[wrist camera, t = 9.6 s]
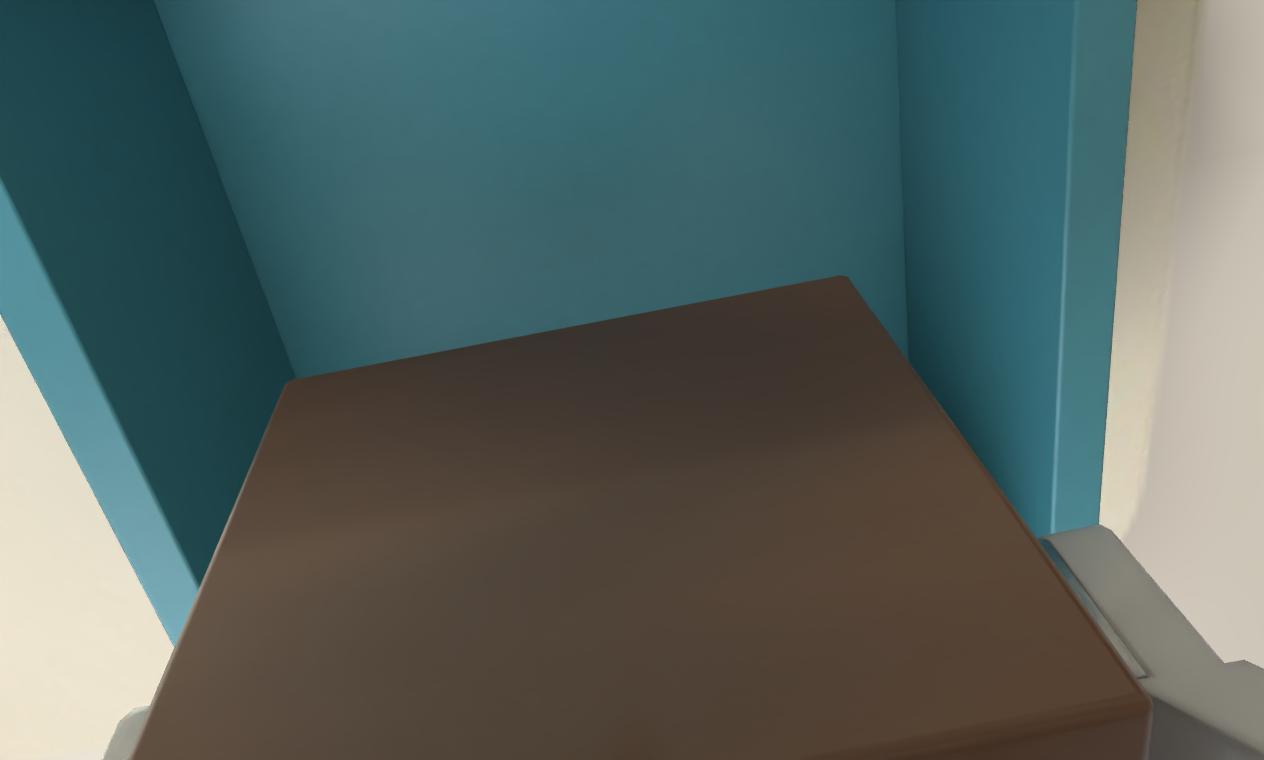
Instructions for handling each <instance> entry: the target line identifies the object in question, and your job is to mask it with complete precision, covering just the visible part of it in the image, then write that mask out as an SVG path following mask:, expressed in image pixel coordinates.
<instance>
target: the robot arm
mask: <svg viewBox="0 0 1264 760" xmlns="http://www.w3.org/2000/svg"><path fill="white" fill-rule="evenodd" d="M1037 540H1038V541H1039V543H1040V544H1041V545H1042V547H1043V548H1044V549H1045V551H1046V552H1047V554H1048V555H1049V556H1050V558H1051V559H1052V561H1053V562H1054V563H1055V565H1056V566H1057V567H1058V569H1059V570H1060V572H1061V573H1062V574H1063V576H1064V577H1065V579H1066V580H1067V581H1068V583H1069V584H1070V586H1071V587H1072V588H1073V590H1074V591H1075V592H1076V594H1077V595H1078V597H1079V598H1080V599H1081V601H1082V602H1083V604H1084V605H1085V606H1086V608H1087V609H1088V610H1089V612H1090V613H1091V615H1092V616H1093V617H1094V619H1095V620H1096V622H1097V623H1098V624H1099V626H1100V627H1101V629H1102V630H1103V631H1104V633H1105V634H1106V635H1107V637H1108V638H1109V640H1110V641H1111V642H1112V644H1113V645H1114V647H1115V648H1116V649H1117V651H1118V652H1119V654H1120V655H1121V656H1122V658H1123V659H1124V660H1125V662H1126V663H1127V665H1128V666H1129V667H1130V669H1131V670H1132V672H1133V673H1134V674H1135V676H1136V677H1137V678H1138V680H1139V681H1140V683H1141V684H1142V685H1143V687H1144V688H1145V690H1146V691H1147V692H1148V694H1149V696H1150V698H1151V700H1152V703H1153V709H1154V714H1153V722H1152V730H1151V738H1150V746H1149V754H1148V760H1264V669H1263V668H1261V667H1259V666H1256V665H1254V664H1252V663H1250V662H1248V661H1245V660H1241V661H1236V662H1229V663H1224V662H1223V661H1222V660H1221V659H1220V657H1219V656H1218V655H1217V654H1216V653H1215V652H1214V650H1213V649H1212V648H1211V647H1210V646H1209V645H1208V644H1207V642H1206V641H1205V640H1204V639H1203V637H1202V636H1201V635H1200V634H1199V633H1198V632H1197V630H1196V629H1195V628H1194V627H1193V626H1192V625H1191V623H1190V622H1189V621H1188V620H1187V619H1186V617H1185V616H1184V615H1183V614H1182V613H1181V612H1180V610H1179V609H1178V608H1177V607H1176V606H1175V605H1174V603H1173V602H1172V601H1171V600H1170V599H1169V598H1168V596H1167V595H1166V594H1165V593H1164V592H1163V590H1162V589H1161V588H1160V587H1159V586H1158V585H1157V583H1156V582H1155V581H1154V580H1153V579H1152V577H1150V575H1149V574H1148V573H1147V572H1146V570H1145V569H1144V568H1143V567H1142V566H1141V564H1140V563H1139V562H1138V561H1137V560H1136V559H1135V558H1134V556H1133V555H1132V554H1131V553H1130V551H1129V550H1128V549H1127V548H1126V547H1125V546H1124V544H1123V543H1122V542H1121V541H1120V540H1119V539H1118V537H1117V536H1116V535H1115V534H1114V533H1113V531H1112V530H1110V529H1108V528H1106V527H1104V526H1102V525H1100V524H1096V525H1091V526H1087V527H1082V528H1077V529H1072V530H1067V531H1063V532H1058V533H1053V534H1048V535H1044V536H1039V537H1038V538H1037ZM149 707H150V706H147V707H141V708H135V709H133V710H132V711H131V712H130V713H129V714H127V715H126V716H125V717H124V718H123V719H122V720H120V722H119V723H118V725H117V727H116V729H115V731H114V734H113V736H112V738H111V740H110V742H109V745H108V747H107V749H106V751H105V753H104V756H103V758H102V760H128V757H129V755H130V753H131V750H132V748H133V745H134V743H135V741H136V738H137V736H138V733H139V731H140V729H141V726H142V724H143V722H144V719H145V717H146V714H147V712H148V710H149Z"/></svg>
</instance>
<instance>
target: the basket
mask: <svg viewBox="0 0 1264 760" xmlns="http://www.w3.org/2000/svg"><path fill="white" fill-rule="evenodd" d="M1136 10H1137V0H0V315H1V316H2V318H3V320H4V322H5V324H6V326H7V328H8V330H9V332H10V334H11V336H12V338H13V339H14V341H15V343H16V345H17V347H18V349H19V351H20V353H21V355H22V357H23V359H24V361H25V362H26V364H27V366H28V368H29V370H30V372H31V374H32V376H33V378H34V380H35V382H36V383H37V385H38V387H39V389H40V391H41V393H42V395H43V397H44V399H45V401H46V403H47V405H48V406H49V408H50V410H51V412H52V414H53V416H54V418H55V420H56V422H57V424H58V426H59V428H60V429H61V431H62V433H63V435H64V437H65V439H66V441H67V443H68V445H69V447H70V449H71V450H72V452H73V454H74V456H75V458H76V460H77V462H78V464H79V466H80V468H81V470H82V472H83V473H84V475H85V477H86V479H87V481H88V483H89V485H90V487H91V489H92V491H93V493H94V495H95V496H96V498H97V500H98V502H99V504H100V506H101V508H102V510H103V512H104V514H105V516H106V518H107V519H108V521H109V523H110V525H111V527H112V529H113V531H114V533H115V535H116V537H117V539H118V540H119V542H120V544H121V546H122V548H123V550H124V552H125V554H126V556H127V558H128V560H129V562H130V563H131V565H132V567H133V569H134V571H135V573H136V575H137V577H138V579H139V581H140V583H141V585H142V586H143V588H144V590H145V592H146V594H147V596H148V598H149V600H150V602H151V604H152V606H153V608H154V609H155V611H156V613H157V615H158V617H159V619H160V621H161V623H162V625H163V627H164V629H165V630H166V632H167V634H168V636H169V638H170V640H171V642H172V644H173V646H174V648H175V645H176V643H177V640H178V638H179V636H180V633H181V631H182V628H183V626H184V624H185V621H186V619H187V617H188V614H189V612H190V609H191V607H192V605H193V602H194V600H195V597H196V595H197V593H198V590H199V588H200V586H201V583H202V581H203V578H204V576H205V574H206V571H207V569H208V566H209V564H210V562H211V559H212V557H213V555H214V552H215V550H216V547H217V545H218V543H219V540H220V538H221V535H222V533H223V531H224V528H225V526H226V523H227V521H228V519H229V516H230V514H231V512H232V509H233V507H234V504H235V502H236V500H237V497H238V495H239V492H240V490H241V488H242V485H243V483H244V481H245V478H246V476H247V473H248V471H249V469H250V466H251V464H252V461H253V459H254V457H255V454H256V452H257V449H258V447H259V445H260V442H261V440H262V438H263V435H264V433H265V430H266V428H267V426H268V423H269V421H270V418H271V416H272V414H273V411H274V409H275V407H276V404H277V402H278V399H279V397H280V395H281V392H282V390H283V387H284V385H285V384H286V383H287V382H289V381H290V380H293V379H299V378H304V377H309V376H314V375H320V374H325V373H330V372H335V371H341V370H346V369H351V368H356V367H362V366H367V365H372V364H377V363H383V362H388V361H393V360H398V359H404V358H409V357H414V356H419V355H425V354H430V353H435V352H440V351H446V350H451V349H456V348H461V347H467V346H472V345H477V344H482V343H487V342H493V341H498V340H503V339H508V338H514V337H519V336H524V335H529V334H535V333H540V332H545V331H550V330H556V329H561V328H566V327H571V326H577V325H582V324H587V323H592V322H598V321H603V320H608V319H613V318H619V317H624V316H629V315H634V314H640V313H645V312H650V311H655V310H661V309H666V308H671V307H676V306H682V305H687V304H692V303H697V302H703V301H708V300H713V299H718V298H724V297H729V296H734V295H739V294H745V293H750V292H755V291H760V290H766V289H771V288H776V287H781V286H787V285H792V284H797V283H802V282H808V281H813V280H818V279H823V278H829V277H834V276H839V275H842V276H847V277H848V278H849V279H850V280H851V282H852V283H853V284H854V286H855V287H856V289H857V290H858V291H859V293H860V294H861V296H862V297H863V298H864V300H865V301H866V302H867V304H868V305H869V307H870V308H871V309H872V311H873V312H874V314H875V315H876V316H877V318H878V319H879V321H880V322H881V323H882V325H883V326H884V327H885V329H886V330H887V332H888V333H889V334H890V336H891V337H892V339H893V340H894V341H895V343H896V344H897V345H898V347H899V348H900V350H901V351H902V352H903V354H904V355H905V357H906V358H907V359H908V361H909V362H910V364H911V365H912V366H913V368H914V369H915V370H916V372H917V373H918V375H919V376H920V377H921V379H922V380H923V382H924V383H925V384H926V386H927V387H928V389H929V390H930V391H931V393H932V394H933V395H934V397H935V398H936V400H937V401H938V402H939V404H940V405H941V407H942V408H943V409H944V411H945V412H946V413H947V415H948V416H949V418H950V419H951V420H952V422H953V423H954V425H955V426H956V427H957V429H958V430H959V432H960V433H961V434H962V436H963V437H964V438H965V440H966V441H967V443H968V444H969V445H970V447H971V448H972V450H973V451H974V452H975V454H976V455H977V456H978V458H979V459H980V461H981V462H982V463H983V465H984V466H985V468H986V469H987V470H988V472H989V473H990V475H991V476H992V477H993V479H994V480H995V481H996V483H997V484H998V486H999V487H1000V488H1001V490H1002V491H1003V493H1004V494H1005V495H1006V497H1007V498H1008V500H1009V501H1010V502H1011V504H1012V505H1013V506H1014V508H1015V509H1016V511H1017V512H1018V513H1019V515H1020V516H1021V518H1022V519H1023V520H1024V522H1025V523H1026V524H1027V526H1028V527H1029V529H1030V530H1031V531H1032V533H1033V534H1034V536H1035V537H1036V538H1038V537H1039V536H1044V535H1048V534H1053V533H1058V532H1063V531H1067V530H1072V529H1077V528H1082V527H1087V526H1091V525H1096V524H1099V512H1100V499H1101V485H1102V472H1103V458H1104V445H1105V431H1106V417H1107V404H1108V390H1109V377H1110V363H1111V350H1112V336H1113V322H1114V309H1115V295H1116V282H1117V268H1118V255H1119V241H1120V227H1121V214H1122V200H1123V187H1124V173H1125V159H1126V146H1127V132H1128V119H1129V105H1130V92H1131V78H1132V64H1133V51H1134V37H1135V24H1136Z"/></svg>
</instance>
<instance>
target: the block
mask: <svg viewBox="0 0 1264 760" xmlns="http://www.w3.org/2000/svg"><path fill="white" fill-rule="evenodd" d="M1153 714H1154V709H1153V703H1152V700H1151V698H1150V696H1149V694H1148V692H1147V691H1146V690H1145V688H1144V687H1143V685H1142V684H1141V683H1140V681H1139V680H1138V678H1137V677H1136V676H1135V674H1134V673H1133V672H1132V670H1131V669H1130V667H1129V666H1128V665H1127V663H1126V662H1125V660H1124V659H1123V658H1122V656H1121V655H1120V654H1119V652H1118V651H1117V649H1116V648H1115V647H1114V645H1113V644H1112V642H1111V641H1110V640H1109V638H1108V637H1107V635H1106V634H1105V633H1104V631H1103V630H1102V629H1101V627H1100V626H1099V624H1098V623H1097V622H1096V620H1095V619H1094V617H1093V616H1092V615H1091V613H1090V612H1089V610H1088V609H1087V608H1086V606H1085V605H1084V604H1083V602H1082V601H1081V599H1080V598H1079V597H1078V595H1077V594H1076V592H1075V591H1074V590H1073V588H1072V587H1071V586H1070V584H1069V583H1068V581H1067V580H1066V579H1065V577H1064V576H1063V574H1062V573H1061V572H1060V570H1059V569H1058V567H1057V566H1056V565H1055V563H1054V562H1053V561H1052V559H1051V558H1050V556H1049V555H1048V554H1047V552H1046V551H1045V549H1044V548H1043V547H1042V545H1041V544H1040V543H1039V541H1038V540H1037V538H1036V537H1035V536H1034V534H1033V533H1032V531H1031V530H1030V529H1029V527H1028V526H1027V524H1026V523H1025V522H1024V520H1023V519H1022V518H1021V516H1020V515H1019V513H1018V512H1017V511H1016V509H1015V508H1014V506H1013V505H1012V504H1011V502H1010V501H1009V500H1008V498H1007V497H1006V495H1005V494H1004V493H1003V491H1002V490H1001V488H1000V487H999V486H998V484H997V483H996V481H995V480H994V479H993V477H992V476H991V475H990V473H989V472H988V470H987V469H986V468H985V466H984V465H983V463H982V462H981V461H980V459H979V458H978V456H977V455H976V454H975V452H974V451H973V450H972V448H971V447H970V445H969V444H968V443H967V441H966V440H965V438H964V437H963V436H962V434H961V433H960V432H959V430H958V429H957V427H956V426H955V425H954V423H953V422H952V420H951V419H950V418H949V416H948V415H947V413H946V412H945V411H944V409H943V408H942V407H941V405H940V404H939V402H938V401H937V400H936V398H935V397H934V395H933V394H932V393H931V391H930V390H929V389H928V387H927V386H926V384H925V383H924V382H923V380H922V379H921V377H920V376H919V375H918V373H917V372H916V370H915V369H914V368H913V366H912V365H911V364H910V362H909V361H908V359H907V358H906V357H905V355H904V354H903V352H902V351H901V350H900V348H899V347H898V345H897V344H896V343H895V341H894V340H893V339H892V337H891V336H890V334H889V333H888V332H887V330H886V329H885V327H884V326H883V325H882V323H881V322H880V321H879V319H878V318H877V316H876V315H875V314H874V312H873V311H872V309H871V308H870V307H869V305H868V304H867V302H866V301H865V300H864V298H863V297H862V296H861V294H860V293H859V291H858V290H857V289H856V287H855V286H854V284H853V283H852V282H851V280H850V279H849V278H848V277H847V276H842V275H839V276H834V277H829V278H823V279H818V280H813V281H808V282H802V283H797V284H792V285H787V286H781V287H776V288H771V289H766V290H760V291H755V292H750V293H745V294H739V295H734V296H729V297H724V298H718V299H713V300H708V301H703V302H697V303H692V304H687V305H682V306H676V307H671V308H666V309H661V310H655V311H650V312H645V313H640V314H634V315H629V316H624V317H619V318H613V319H608V320H603V321H598V322H592V323H587V324H582V325H577V326H571V327H566V328H561V329H556V330H550V331H545V332H540V333H535V334H529V335H524V336H519V337H514V338H508V339H503V340H498V341H493V342H487V343H482V344H477V345H472V346H467V347H461V348H456V349H451V350H446V351H440V352H435V353H430V354H425V355H419V356H414V357H409V358H404V359H398V360H393V361H388V362H383V363H377V364H372V365H367V366H362V367H356V368H351V369H346V370H341V371H335V372H330V373H325V374H320V375H314V376H309V377H304V378H299V379H293V380H290V381H289V382H287V383H286V384H285V385H284V387H283V390H282V392H281V395H280V397H279V399H278V402H277V404H276V407H275V409H274V411H273V414H272V416H271V418H270V421H269V423H268V426H267V428H266V430H265V433H264V435H263V438H262V440H261V442H260V445H259V447H258V449H257V452H256V454H255V457H254V459H253V461H252V464H251V466H250V469H249V471H248V473H247V476H246V478H245V481H244V483H243V485H242V488H241V490H240V492H239V495H238V497H237V500H236V502H235V504H234V507H233V509H232V512H231V514H230V516H229V519H228V521H227V523H226V526H225V528H224V531H223V533H222V535H221V538H220V540H219V543H218V545H217V547H216V550H215V552H214V555H213V557H212V559H211V562H210V564H209V566H208V569H207V571H206V574H205V576H204V578H203V581H202V583H201V586H200V588H199V590H198V593H197V595H196V597H195V600H194V602H193V605H192V607H191V609H190V612H189V614H188V617H187V619H186V621H185V624H184V626H183V628H182V631H181V633H180V636H179V638H178V640H177V643H176V645H175V648H174V650H173V652H172V655H171V657H170V660H169V662H168V664H167V667H166V669H165V671H164V674H163V676H162V679H161V681H160V683H159V686H158V688H157V691H156V693H155V695H154V698H153V700H152V702H151V705H150V707H149V710H148V712H147V714H146V717H145V719H144V722H143V724H142V726H141V729H140V731H139V733H138V736H137V738H136V741H135V743H134V745H133V748H132V750H131V753H130V755H129V757H128V760H1148V754H1149V746H1150V738H1151V730H1152V722H1153Z"/></svg>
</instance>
